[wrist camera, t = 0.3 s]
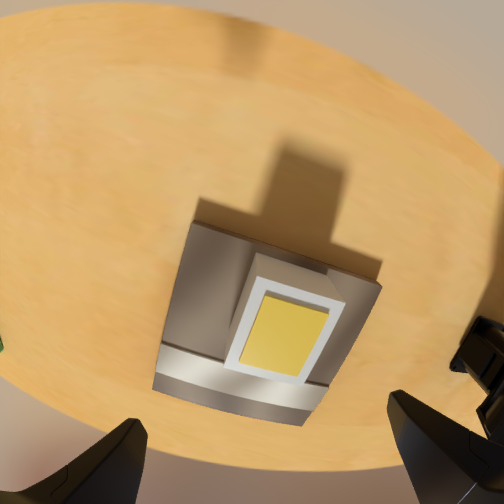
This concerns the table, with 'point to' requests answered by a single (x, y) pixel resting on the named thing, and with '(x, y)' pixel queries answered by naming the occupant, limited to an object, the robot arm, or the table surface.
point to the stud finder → (281, 321)
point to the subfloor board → (218, 322)
